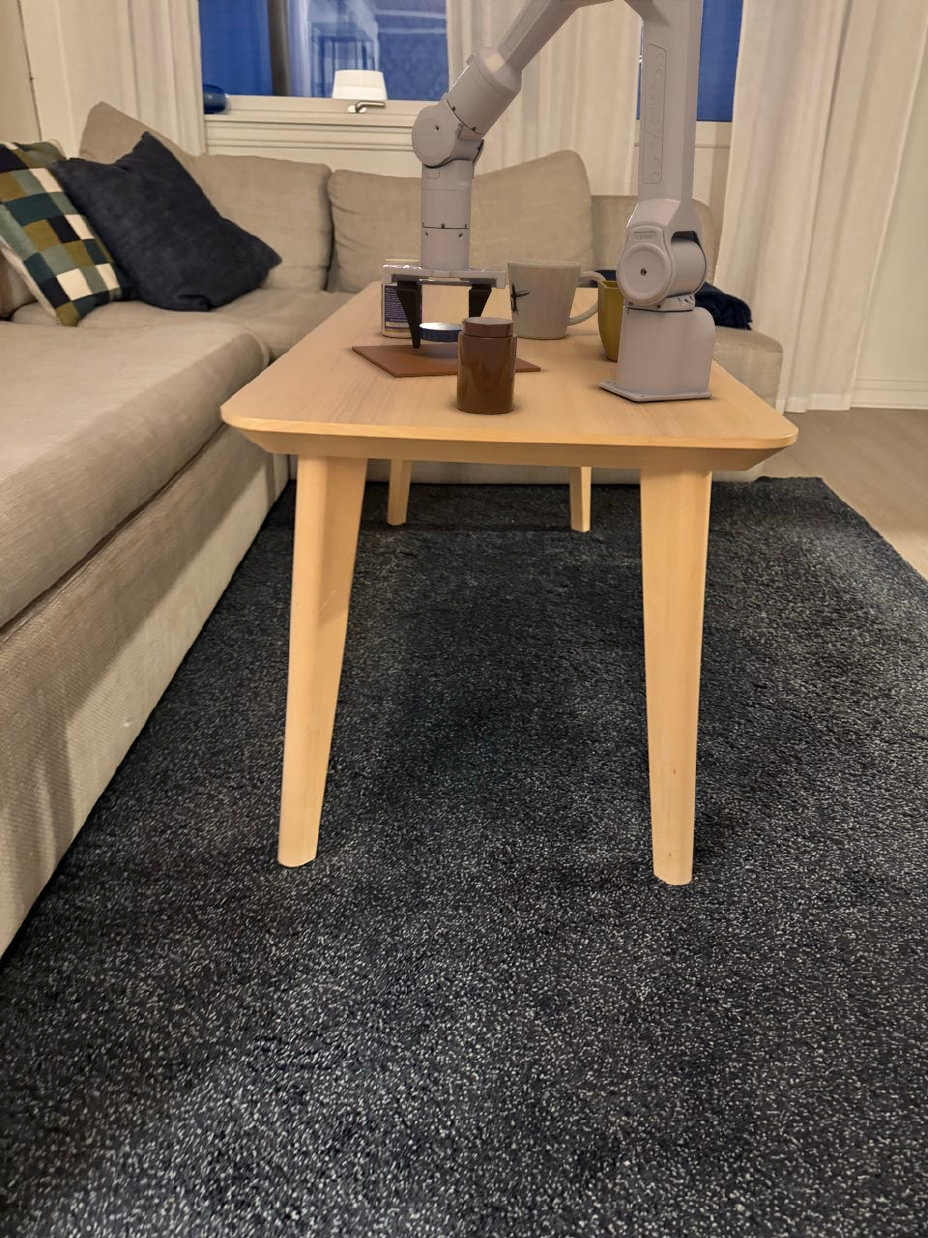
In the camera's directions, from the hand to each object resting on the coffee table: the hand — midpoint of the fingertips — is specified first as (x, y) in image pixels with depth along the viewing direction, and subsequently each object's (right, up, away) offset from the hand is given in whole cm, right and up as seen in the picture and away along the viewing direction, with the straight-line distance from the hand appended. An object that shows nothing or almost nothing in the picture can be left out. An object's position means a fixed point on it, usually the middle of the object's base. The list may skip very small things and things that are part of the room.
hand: (442, 348), depth 111 cm
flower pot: (+24, 0, +6) cm, 24 cm away
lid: (0, +2, -1) cm, 2 cm away
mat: (0, -1, +1) cm, 1 cm away
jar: (+5, -12, -22) cm, 26 cm away
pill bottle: (-6, +7, +17) cm, 19 cm away
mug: (+16, +8, +21) cm, 28 cm away
